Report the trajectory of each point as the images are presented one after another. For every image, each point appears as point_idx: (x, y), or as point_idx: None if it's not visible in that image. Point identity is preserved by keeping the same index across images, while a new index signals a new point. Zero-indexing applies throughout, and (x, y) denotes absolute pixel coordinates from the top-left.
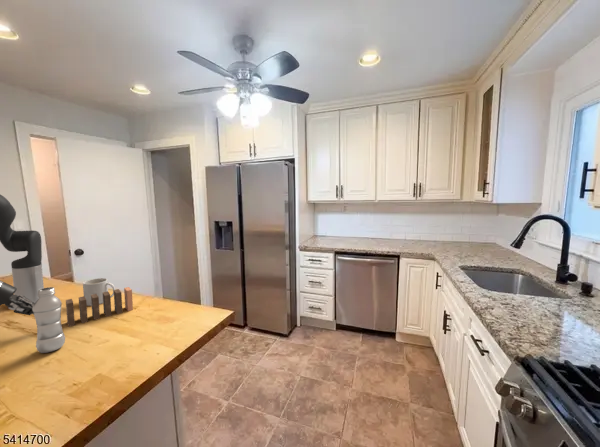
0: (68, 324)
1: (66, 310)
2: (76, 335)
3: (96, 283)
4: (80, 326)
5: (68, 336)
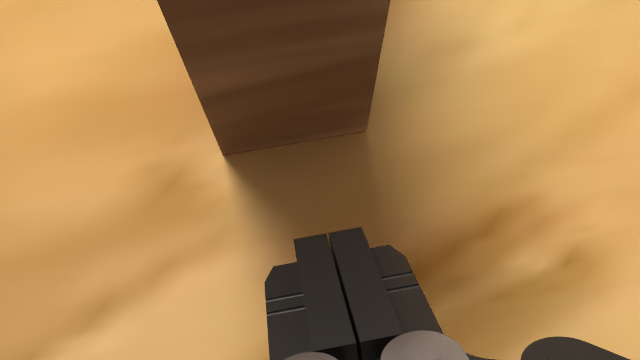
0: (367, 119)
1: (204, 82)
2: (622, 52)
3: None
4: (420, 42)
5: (613, 105)
